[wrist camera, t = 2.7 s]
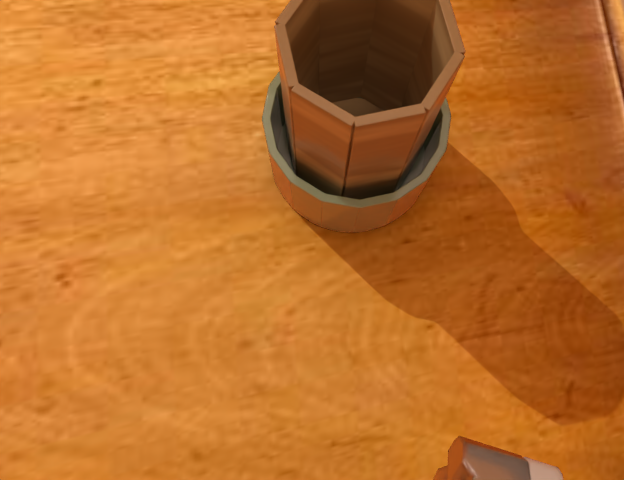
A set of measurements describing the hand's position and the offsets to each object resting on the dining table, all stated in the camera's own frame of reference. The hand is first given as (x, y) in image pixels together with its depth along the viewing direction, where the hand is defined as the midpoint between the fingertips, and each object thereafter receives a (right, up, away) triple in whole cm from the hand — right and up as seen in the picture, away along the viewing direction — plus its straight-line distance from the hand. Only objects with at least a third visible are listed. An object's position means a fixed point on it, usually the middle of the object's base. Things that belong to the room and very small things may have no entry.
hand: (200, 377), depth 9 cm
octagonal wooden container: (+4, +7, +22) cm, 24 cm away
